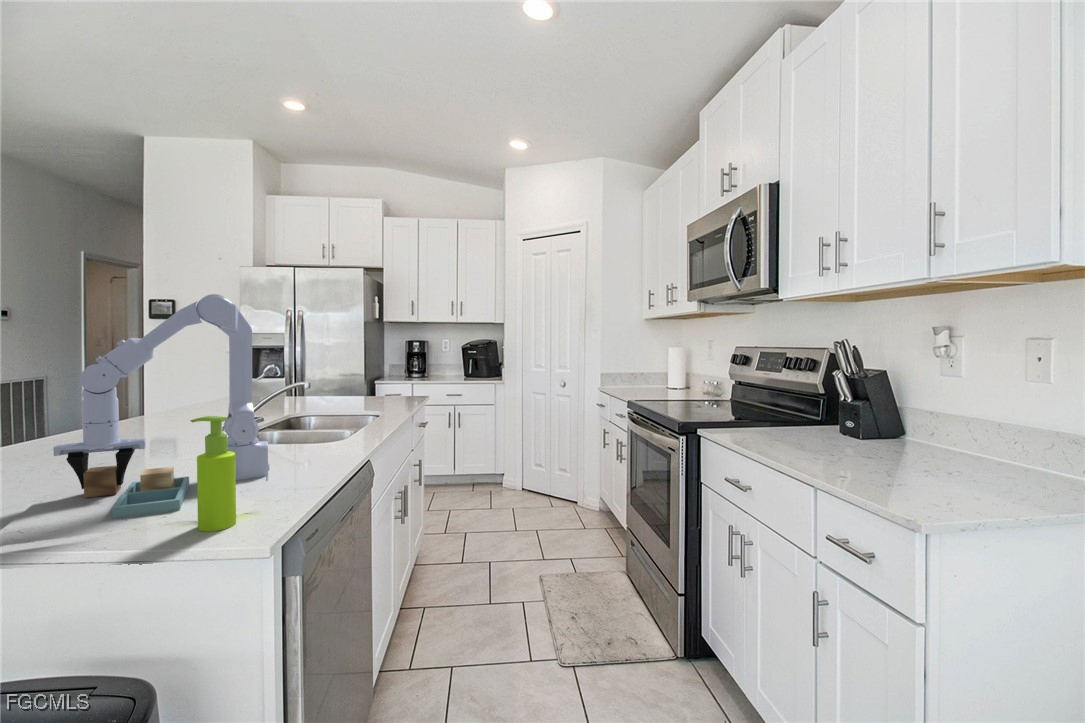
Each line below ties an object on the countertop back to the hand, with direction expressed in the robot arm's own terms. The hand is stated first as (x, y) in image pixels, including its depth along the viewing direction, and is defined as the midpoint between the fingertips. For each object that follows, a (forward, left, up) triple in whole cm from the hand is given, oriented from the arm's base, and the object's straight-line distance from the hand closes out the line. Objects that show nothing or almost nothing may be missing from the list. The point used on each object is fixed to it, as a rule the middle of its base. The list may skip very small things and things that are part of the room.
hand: (103, 485), depth 106 cm
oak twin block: (-10, +6, -2) cm, 12 cm away
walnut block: (0, 0, -1) cm, 1 cm away
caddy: (-10, +10, -3) cm, 14 cm away
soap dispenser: (-21, +28, -3) cm, 35 cm away
